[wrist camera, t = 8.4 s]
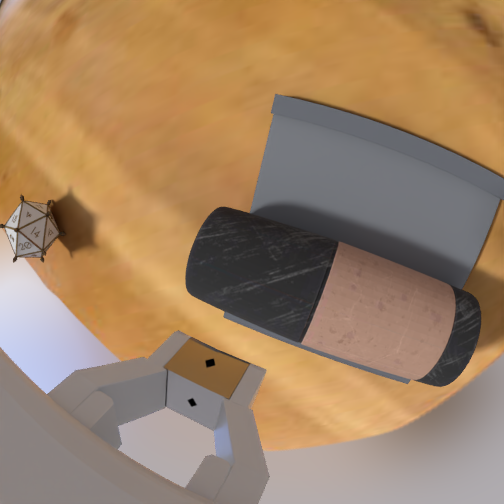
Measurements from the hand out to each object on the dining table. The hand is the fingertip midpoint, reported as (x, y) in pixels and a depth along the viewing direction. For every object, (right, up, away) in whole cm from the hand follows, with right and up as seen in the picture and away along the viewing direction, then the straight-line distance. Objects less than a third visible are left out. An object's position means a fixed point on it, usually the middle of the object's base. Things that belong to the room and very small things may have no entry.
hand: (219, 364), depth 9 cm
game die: (-26, +8, +27) cm, 38 cm away
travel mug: (-2, +4, +14) cm, 15 cm away
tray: (+10, +3, +15) cm, 18 cm away
